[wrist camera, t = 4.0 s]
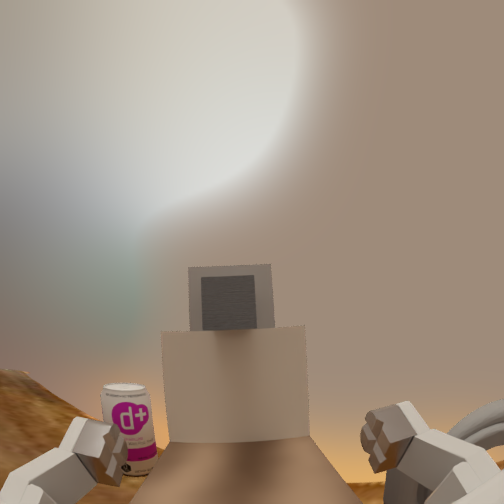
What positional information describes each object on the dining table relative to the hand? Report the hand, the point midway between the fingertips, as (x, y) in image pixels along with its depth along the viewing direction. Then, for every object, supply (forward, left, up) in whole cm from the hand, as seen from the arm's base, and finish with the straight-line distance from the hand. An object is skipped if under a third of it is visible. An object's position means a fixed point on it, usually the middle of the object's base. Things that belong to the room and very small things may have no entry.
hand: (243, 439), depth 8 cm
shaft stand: (0, +20, -20) cm, 29 cm away
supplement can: (-18, +35, -21) cm, 45 cm away
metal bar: (0, +17, +4) cm, 18 cm away
